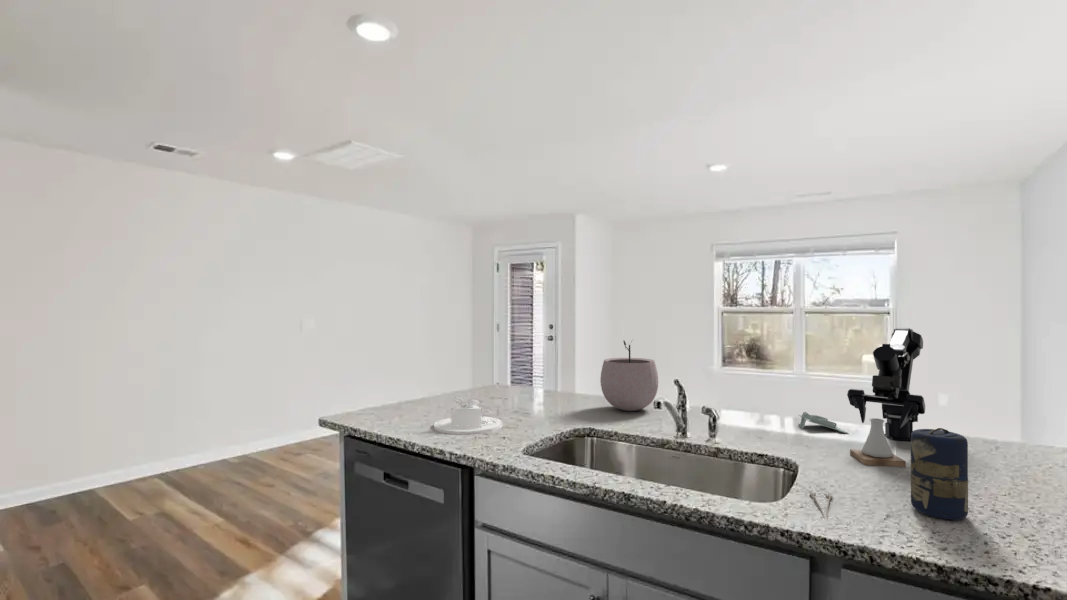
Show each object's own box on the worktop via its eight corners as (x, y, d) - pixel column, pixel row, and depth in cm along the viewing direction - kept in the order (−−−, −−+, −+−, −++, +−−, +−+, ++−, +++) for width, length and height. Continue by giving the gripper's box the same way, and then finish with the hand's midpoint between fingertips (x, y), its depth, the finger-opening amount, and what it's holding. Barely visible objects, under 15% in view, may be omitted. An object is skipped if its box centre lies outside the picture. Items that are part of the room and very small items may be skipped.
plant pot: (654, 404, 228) (654, 336, 228) (662, 416, 204) (662, 340, 204) (599, 403, 230) (599, 336, 230) (601, 415, 206) (601, 340, 207)
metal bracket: (810, 416, 177) (795, 407, 192) (805, 432, 177) (790, 422, 192) (853, 429, 175) (835, 419, 190) (848, 446, 175) (830, 435, 190)
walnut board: (888, 456, 149) (888, 450, 149) (905, 466, 140) (905, 461, 140) (850, 454, 151) (850, 449, 151) (864, 464, 142) (864, 459, 142)
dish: (499, 435, 177) (499, 402, 177) (426, 435, 178) (426, 402, 178) (504, 419, 202) (504, 390, 202) (440, 419, 202) (440, 390, 202)
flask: (879, 450, 150) (879, 416, 150) (899, 458, 142) (898, 421, 142) (856, 451, 149) (855, 416, 149) (874, 459, 142) (874, 422, 142)
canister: (899, 505, 113) (898, 423, 113) (940, 504, 114) (939, 422, 114) (937, 524, 103) (936, 434, 104) (981, 522, 104) (980, 432, 104)
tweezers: (808, 496, 120) (809, 487, 120) (832, 499, 118) (832, 491, 118) (814, 531, 104) (814, 521, 104) (841, 535, 102) (841, 525, 102)
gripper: (848, 362, 160) (838, 403, 152) (923, 367, 147) (916, 413, 139) (855, 384, 166) (846, 425, 158) (927, 391, 153) (922, 436, 145)
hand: (880, 424), depth 150 cm, fingers open, 9 cm apart
